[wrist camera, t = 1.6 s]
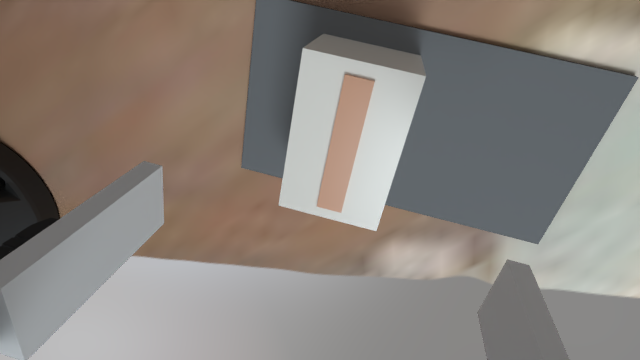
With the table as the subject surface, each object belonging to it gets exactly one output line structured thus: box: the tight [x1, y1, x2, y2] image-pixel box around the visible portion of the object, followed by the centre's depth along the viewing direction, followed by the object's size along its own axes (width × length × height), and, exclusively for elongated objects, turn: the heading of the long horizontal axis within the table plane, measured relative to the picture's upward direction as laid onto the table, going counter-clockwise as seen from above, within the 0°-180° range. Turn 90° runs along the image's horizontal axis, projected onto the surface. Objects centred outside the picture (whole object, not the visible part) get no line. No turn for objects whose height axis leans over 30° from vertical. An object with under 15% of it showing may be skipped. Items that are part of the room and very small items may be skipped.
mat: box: [241, 0, 638, 244], centre depth 27 cm, size 24×13×1 cm, turn 79°
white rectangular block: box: [279, 34, 426, 231], centre depth 24 cm, size 10×6×6 cm, turn 169°
